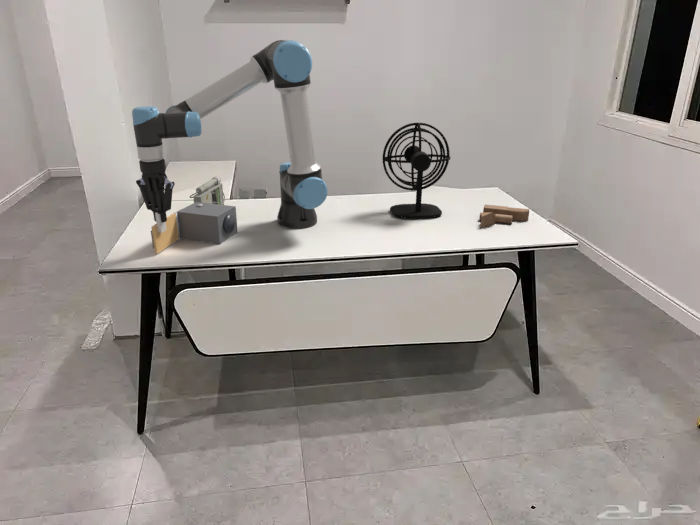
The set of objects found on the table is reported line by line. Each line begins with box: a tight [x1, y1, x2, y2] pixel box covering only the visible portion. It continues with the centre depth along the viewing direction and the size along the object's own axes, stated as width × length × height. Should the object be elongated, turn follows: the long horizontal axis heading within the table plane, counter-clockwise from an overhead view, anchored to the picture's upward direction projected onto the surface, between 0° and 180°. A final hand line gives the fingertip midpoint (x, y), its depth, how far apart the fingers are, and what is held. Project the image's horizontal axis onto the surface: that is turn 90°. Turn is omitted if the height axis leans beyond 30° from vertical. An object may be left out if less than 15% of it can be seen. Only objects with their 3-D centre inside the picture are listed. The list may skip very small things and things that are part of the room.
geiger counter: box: [189, 175, 226, 205], centre depth 214 cm, size 14×6×25 cm
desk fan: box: [382, 122, 451, 219], centre depth 212 cm, size 27×18×35 cm, turn 97°
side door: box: [150, 211, 180, 254], centre depth 182 cm, size 15×2×9 cm, turn 168°
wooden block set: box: [478, 204, 530, 229], centre depth 207 cm, size 17×6×18 cm
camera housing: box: [176, 202, 239, 245], centre depth 191 cm, size 17×12×11 cm
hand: (162, 230), depth 177 cm, fingers closed
